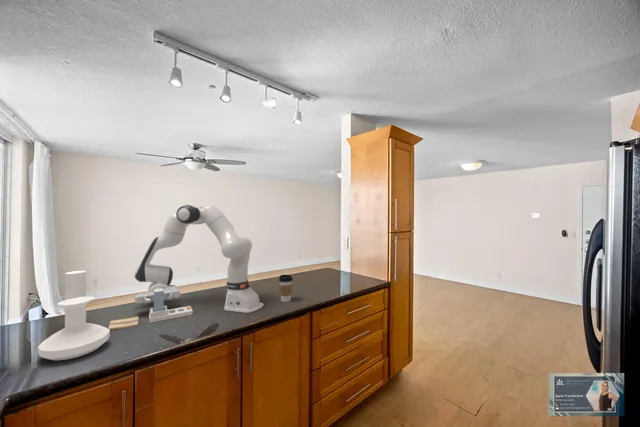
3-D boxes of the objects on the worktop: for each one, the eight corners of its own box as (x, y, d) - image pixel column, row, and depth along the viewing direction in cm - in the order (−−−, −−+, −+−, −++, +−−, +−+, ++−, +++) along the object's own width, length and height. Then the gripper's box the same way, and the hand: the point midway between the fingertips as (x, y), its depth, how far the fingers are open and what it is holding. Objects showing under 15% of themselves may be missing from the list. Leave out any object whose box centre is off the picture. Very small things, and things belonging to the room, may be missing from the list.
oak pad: (110, 323, 125) (110, 320, 125) (138, 318, 131) (138, 316, 131) (107, 331, 116) (107, 329, 116) (137, 325, 122) (137, 323, 122)
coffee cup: (287, 297, 166) (287, 273, 166) (295, 300, 160) (295, 276, 160) (276, 300, 160) (276, 275, 160) (284, 303, 154) (284, 278, 154)
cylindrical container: (62, 329, 117) (62, 274, 118) (68, 324, 124) (68, 271, 124) (82, 326, 121) (83, 273, 121) (87, 321, 127) (88, 270, 127)
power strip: (149, 322, 125) (149, 313, 126) (149, 316, 133) (149, 308, 133) (192, 314, 136) (192, 306, 136) (190, 309, 144) (190, 301, 144)
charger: (153, 313, 132) (154, 289, 133) (163, 311, 135) (163, 288, 135) (154, 316, 128) (154, 292, 128) (163, 314, 130) (163, 290, 131)
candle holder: (122, 338, 109) (122, 292, 110) (79, 366, 89) (79, 310, 90) (73, 339, 109) (74, 293, 109) (19, 366, 89) (20, 310, 89)
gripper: (135, 290, 139) (133, 296, 127) (178, 284, 150) (181, 290, 138) (134, 302, 139) (133, 309, 127) (178, 295, 150) (181, 302, 138)
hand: (158, 299), depth 133 cm, fingers open, 8 cm apart
